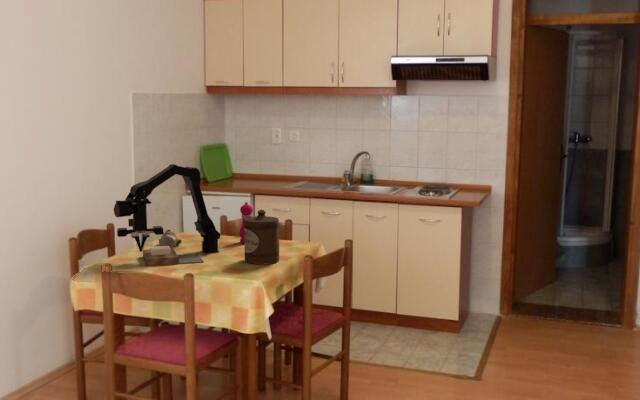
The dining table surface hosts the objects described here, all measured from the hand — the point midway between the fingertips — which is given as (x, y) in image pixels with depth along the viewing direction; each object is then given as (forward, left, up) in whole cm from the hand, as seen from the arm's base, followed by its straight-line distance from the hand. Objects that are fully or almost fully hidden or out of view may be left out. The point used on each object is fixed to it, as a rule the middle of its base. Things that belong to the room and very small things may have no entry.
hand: (140, 251), depth 310 cm
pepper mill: (-51, -27, -5) cm, 58 cm away
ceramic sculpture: (-15, -26, -5) cm, 31 cm away
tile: (-8, 0, -1) cm, 8 cm away
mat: (-20, +1, -4) cm, 21 cm away
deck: (-8, 0, -4) cm, 9 cm away
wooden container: (-49, +12, -5) cm, 51 cm away
